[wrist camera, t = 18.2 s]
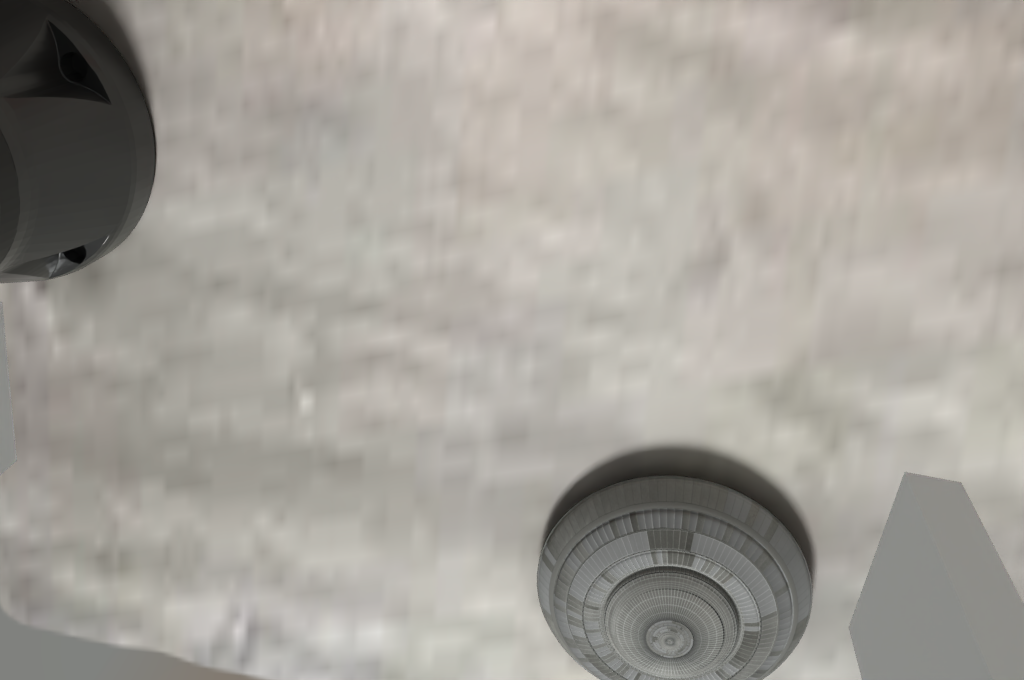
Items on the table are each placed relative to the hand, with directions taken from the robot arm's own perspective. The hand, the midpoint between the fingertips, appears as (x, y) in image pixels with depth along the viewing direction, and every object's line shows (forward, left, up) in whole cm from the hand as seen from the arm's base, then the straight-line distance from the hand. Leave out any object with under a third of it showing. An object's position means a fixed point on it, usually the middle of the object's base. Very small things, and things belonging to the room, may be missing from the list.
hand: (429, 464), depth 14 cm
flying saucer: (+10, -26, -35) cm, 44 cm away
